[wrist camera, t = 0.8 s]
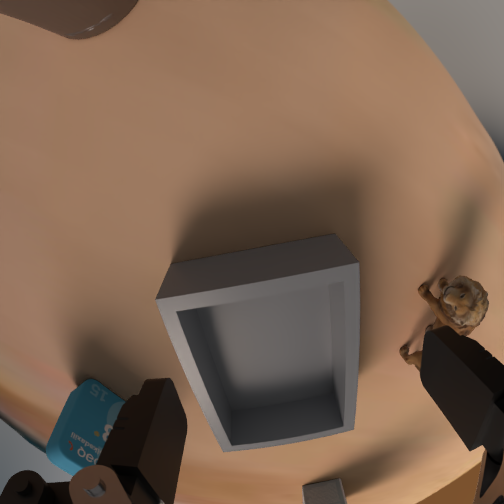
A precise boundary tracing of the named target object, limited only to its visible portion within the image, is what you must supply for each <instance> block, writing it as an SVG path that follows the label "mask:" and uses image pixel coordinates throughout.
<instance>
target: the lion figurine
mask: <svg viewBox="0 0 504 504" xmlns="http://www.w3.org/2000/svg"><path fill="white" fill-rule="evenodd" d="M438 287H439V289H440V291H441V295H440V297H439V299H437V298H435V297H434V296H433V295H432V293H431V292H430V291H429V287H428V286H427V285H422V286H421V287H420V288H419V289H418V292H419V294H420V296H421V297H422V298H423V299H424V300H426V301H427V302H428V304H429V305H430V307H431V309H432V310H433V311H434V314H435V315H436V316H437V319H436V321H435V324H434V326H429V327H428V328H427V329H426V331H425V333H426V332H427V331H429V330H432V329H435V328H438V327H442V326H445V325H448V326H450V327H451V328H452V329H454V330H455V331H456V332H457V333H458V334H459V335H460V336H461V335H464V336H467V335H469V334H470V333H471V332H472V331H473V330H474V328H475V327H477V326H479V325H480V322H481V321H482V320H483V319H484V317H485V314H486V312H487V310H488V306H489V301H488V300H487V296H488V293H487V292H486V291H485V290H484V288H483V287H482V286H481V284H480V283H479V282H477V281H473V280H472V279H470V278H468V277H466V276H459V277H457V278H456V279H455V280H453V281H452V282H451V283H450V284H448V282H447V280H446V279H445V278H443V279H440V281H439V283H438ZM408 352H409V348H408V347H407V346H404V347H402V348H401V349H400V355H401V356H402V358H403V359H404V360H405V362H406V363H407V364H409V365H412V364H414V365H415V367H416V368H417V369H418V370H419V372H420V366H421V359H422V351H417V352H414V353H413V354H411V355H408Z"/></svg>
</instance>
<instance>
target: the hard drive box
mask: <svg viewBox="0 0 504 504" xmlns="http://www.w3.org/2000/svg"><path fill="white" fill-rule="evenodd" d="M302 494H303V504H347V501H346V497H345V493H344V489H343V486H342V482H341V479H340V478H338V479H334V480H329V481H325V482H320V483H315V484H310V485H304V486H302Z"/></svg>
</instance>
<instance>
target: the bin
mask: <svg viewBox="0 0 504 504" xmlns="http://www.w3.org/2000/svg"><path fill="white" fill-rule="evenodd" d="M155 300H156V303H157V306H158V308H159V311H160V314H161V316H162V319H163V321H164V324H165V327H166V329H167V332H168V334H169V337H170V339H171V342H172V344H173V346H174V349H175V351H176V354H177V356H178V358H179V361H180V363H181V365H182V368H183V370H184V372H185V375H186V377H187V379H188V381H189V383H190V386H191V388H192V390H193V392H194V394H195V397H196V399H197V401H198V403H199V405H200V407H201V409H202V411H203V413H204V415H205V417H206V419H207V421H208V423H209V425H210V427H211V429H212V431H213V433H214V435H215V437H216V439H217V441H218V443H219V445H220V447H221V449H222V451H223V452H230V451H240V450H249V449H257V448H265V447H272V446H278V445H285V444H290V443H296V442H301V441H307V440H312V439H316V438H321V437H326V436H330V435H334V434H338V433H342V432H346V431H350V430H354V424H355V413H356V401H357V387H358V370H359V345H360V270H359V261H358V260H357V259H356V258H355V257H354V255H353V254H352V253H351V252H350V251H349V249H348V248H347V247H346V246H345V245H344V243H343V242H342V241H341V240H340V239H339V238H338V236H337V235H336V234H330V235H324V236H319V237H314V238H308V239H303V240H297V241H292V242H287V243H281V244H276V245H270V246H265V247H260V248H254V249H249V250H243V251H238V252H233V253H227V254H222V255H217V256H211V257H206V258H200V259H195V260H190V261H184V262H179V263H174V264H170V267H169V269H168V271H167V274H166V276H165V278H164V280H163V283H162V285H161V287H160V290H159V292H158V294H157V297H156V299H155Z"/></svg>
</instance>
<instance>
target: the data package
mask: <svg viewBox="0 0 504 504" xmlns="http://www.w3.org/2000/svg"><path fill="white" fill-rule="evenodd" d="M124 403H125V401H124V400H123V399H121V398H120V397H118V396H117V395H116V394H114V393H113V392H111V391H110V390H109V389H107V388H106V387H105V386H103V385H102V384H101V383H100V382H98V381H96V380H94V379H88V380H86V381H85V382H83V383H82V384H81V385H80V386H78V387H77V388H76V389H75V390H73V391H72V392H71V393H70V395H69V397H68V399H67V401H66V404H65V406H64V408H63V410H62V412H61V414H60V416H59V419H58V421H57V423H56V425H55V427H54V430H53V432H52V434H51V437H50V439H49V441H48V443H47V446H46V454H47V457H48V459H49V460H50V461H51V462H52V463H53V464H54V465H56V466H57V467H59V468H60V469H62V470H63V471H65V472H67V473H69V474H70V475H72V476H74V475H75V474H76V473H77V472H78V471H79V470H81V469H83V468H85V467H88V466H92V465H96V463H97V460H98V458H99V456H100V453H101V451H102V449H103V447H104V444H105V442H106V440H107V438H108V435H109V433H110V431H111V429H113V424H114V422H115V420H117V416H118V414H119V411H120V409H121V407H122V405H123V404H124Z"/></svg>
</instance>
